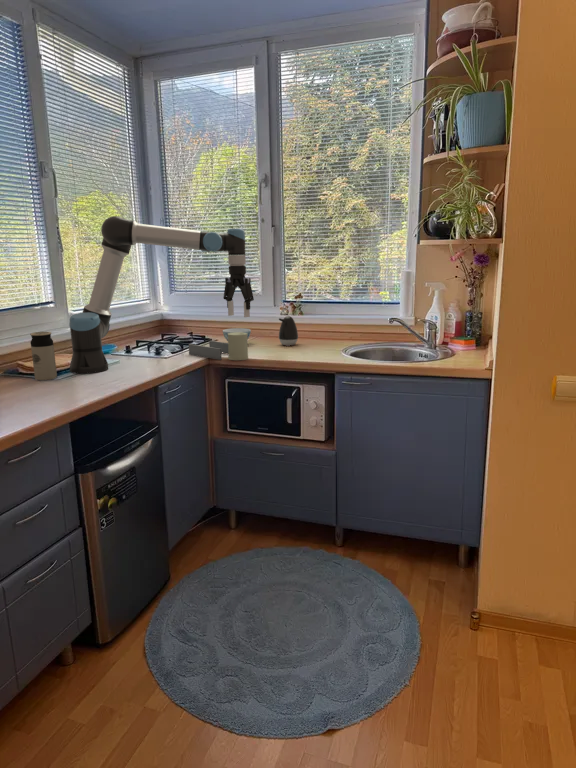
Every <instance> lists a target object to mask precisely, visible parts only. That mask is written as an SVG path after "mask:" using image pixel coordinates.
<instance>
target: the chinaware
mask: <svg viewBox="0 0 576 768" xmlns="http://www.w3.org/2000/svg"><path fill="white" fill-rule="evenodd" d="M234 332H244V333H247V340H248V339H249V337H250V335H251V334H252V333H251V332H252V330H251V329H250V328H243V327H242V328H241V327H237V328H236V327H233V328H232V327H231V328H226V329H222V335H223V337H224V339H225V340H226V341H227V342H228V335H227V334H228V333H234Z"/></svg>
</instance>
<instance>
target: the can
mask: <svg viewBox="0 0 576 768" xmlns="http://www.w3.org/2000/svg"><path fill="white" fill-rule="evenodd" d="M227 335H228V341H227V343H228V354H227V356H228V360H230V361H245V360H248V359H249V352H248V349H249V348H248V345H249V344H248V339H247V333H244V332H234V333H228V334H227Z"/></svg>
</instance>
